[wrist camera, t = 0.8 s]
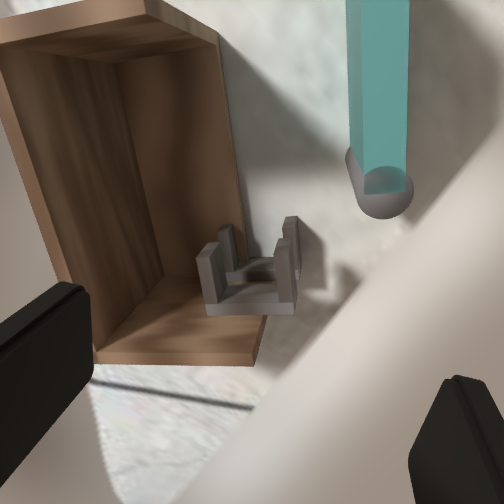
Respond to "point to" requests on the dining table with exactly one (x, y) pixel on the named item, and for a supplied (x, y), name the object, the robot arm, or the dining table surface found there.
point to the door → (378, 105)
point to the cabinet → (140, 180)
